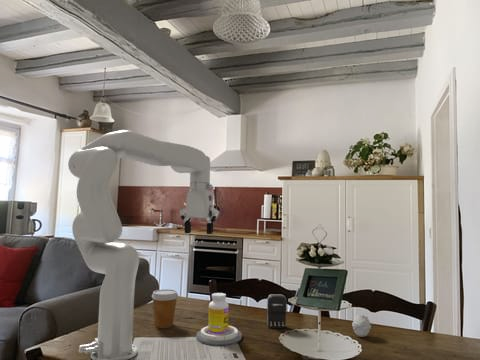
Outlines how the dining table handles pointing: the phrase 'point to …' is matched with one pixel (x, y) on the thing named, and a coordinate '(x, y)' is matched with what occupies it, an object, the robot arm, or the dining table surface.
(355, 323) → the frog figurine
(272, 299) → the battery
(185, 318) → the dining table surface
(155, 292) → the disposable coffee cup
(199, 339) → the round holder
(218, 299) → the supplement bottle
